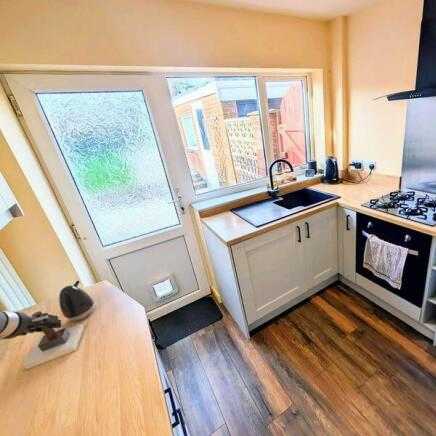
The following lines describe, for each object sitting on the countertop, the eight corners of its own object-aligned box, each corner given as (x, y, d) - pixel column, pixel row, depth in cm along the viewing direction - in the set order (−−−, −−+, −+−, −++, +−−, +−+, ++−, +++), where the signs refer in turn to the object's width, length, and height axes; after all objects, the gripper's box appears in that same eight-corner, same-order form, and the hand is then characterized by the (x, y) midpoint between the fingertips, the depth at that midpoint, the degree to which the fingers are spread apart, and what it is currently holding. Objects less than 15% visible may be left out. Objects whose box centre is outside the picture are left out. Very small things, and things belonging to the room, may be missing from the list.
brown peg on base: (42, 351, 87) (19, 323, 81) (47, 341, 91) (26, 313, 85) (66, 342, 90) (45, 314, 84) (70, 332, 94) (51, 305, 88)
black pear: (103, 305, 109) (88, 278, 103) (83, 324, 100) (65, 296, 93) (83, 305, 111) (67, 278, 104) (62, 324, 101) (42, 296, 95)
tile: (26, 369, 84) (22, 365, 83) (40, 342, 94) (37, 339, 93) (75, 350, 89) (73, 346, 88) (84, 326, 99) (82, 323, 98)
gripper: (-33, 351, 67) (28, 345, 88) (39, 326, 73) (80, 326, 94) (-33, 323, 69) (27, 324, 90) (37, 301, 75) (78, 307, 96)
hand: (54, 325), depth 92 cm, fingers closed on brown peg on base, 3 cm apart
